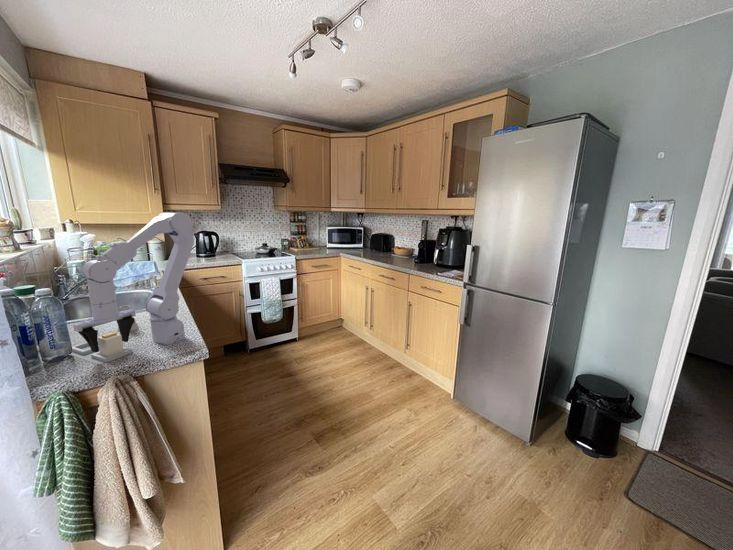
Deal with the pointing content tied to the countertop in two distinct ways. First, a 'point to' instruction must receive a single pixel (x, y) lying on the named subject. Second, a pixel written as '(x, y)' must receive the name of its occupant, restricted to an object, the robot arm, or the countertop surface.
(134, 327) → the flask
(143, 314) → the countertop surface
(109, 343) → the plug
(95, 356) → the panel
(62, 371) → the countertop surface
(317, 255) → the countertop surface
